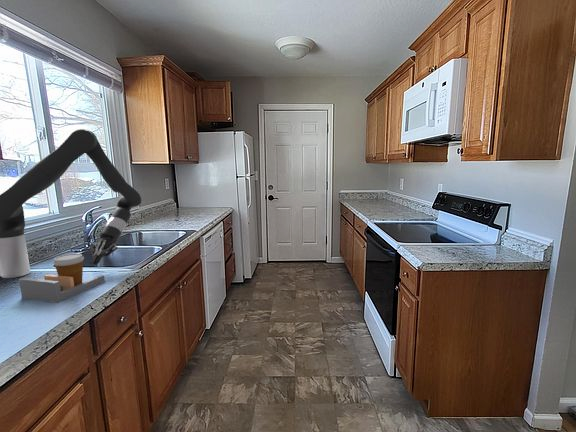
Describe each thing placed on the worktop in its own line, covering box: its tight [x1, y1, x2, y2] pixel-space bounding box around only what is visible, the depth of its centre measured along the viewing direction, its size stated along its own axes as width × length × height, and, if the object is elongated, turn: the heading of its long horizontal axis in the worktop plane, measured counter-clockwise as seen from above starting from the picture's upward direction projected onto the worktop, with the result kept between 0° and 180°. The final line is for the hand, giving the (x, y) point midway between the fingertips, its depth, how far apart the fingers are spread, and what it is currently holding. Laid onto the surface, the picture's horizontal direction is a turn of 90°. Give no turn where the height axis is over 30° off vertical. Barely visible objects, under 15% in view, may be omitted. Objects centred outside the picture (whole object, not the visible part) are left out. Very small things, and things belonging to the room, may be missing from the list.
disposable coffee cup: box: [52, 253, 85, 286], centre depth 114 cm, size 10×10×12 cm
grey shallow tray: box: [18, 274, 106, 303], centre depth 112 cm, size 16×20×7 cm
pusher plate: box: [43, 274, 74, 292], centre depth 109 cm, size 12×3×6 cm, turn 76°
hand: (93, 264), depth 124 cm, fingers closed
